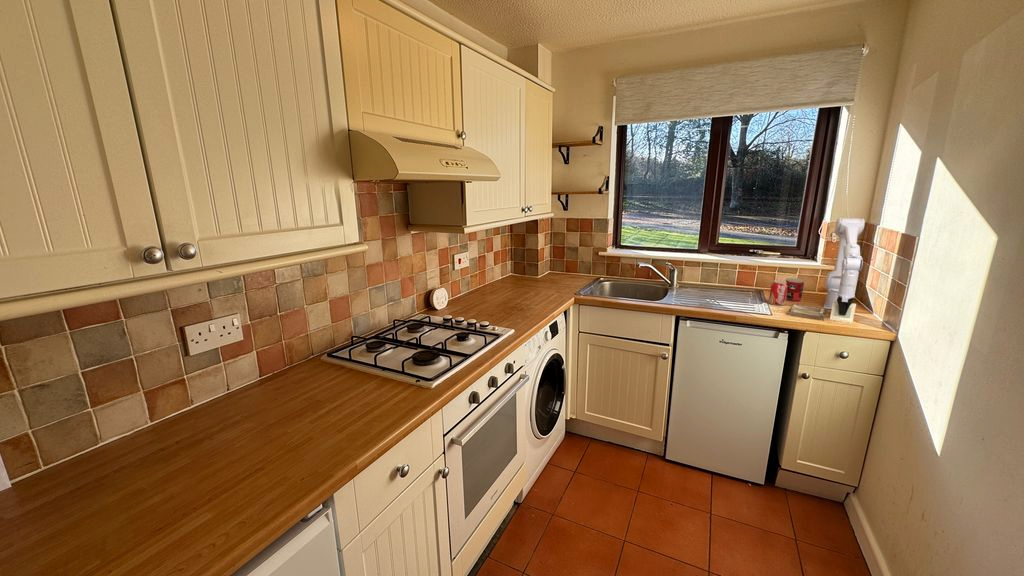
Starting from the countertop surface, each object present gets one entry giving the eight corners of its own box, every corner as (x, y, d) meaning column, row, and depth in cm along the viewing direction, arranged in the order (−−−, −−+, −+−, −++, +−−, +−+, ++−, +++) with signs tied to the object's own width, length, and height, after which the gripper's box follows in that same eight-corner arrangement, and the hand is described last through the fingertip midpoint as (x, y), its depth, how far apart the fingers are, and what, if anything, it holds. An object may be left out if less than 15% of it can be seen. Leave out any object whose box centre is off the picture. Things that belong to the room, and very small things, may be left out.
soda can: (771, 306, 209) (774, 282, 206) (766, 302, 215) (769, 279, 212) (787, 306, 207) (790, 283, 204) (781, 303, 214) (785, 280, 211)
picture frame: (830, 317, 191) (833, 300, 189) (852, 320, 186) (856, 303, 184) (829, 319, 187) (832, 302, 185) (852, 323, 182) (855, 305, 180)
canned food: (779, 298, 223) (782, 278, 221) (795, 298, 223) (798, 278, 220) (788, 301, 216) (791, 281, 213) (804, 301, 215) (807, 281, 213)
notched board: (793, 305, 209) (793, 300, 209) (827, 310, 200) (828, 305, 200) (786, 314, 194) (787, 309, 194) (823, 320, 186) (824, 315, 185)
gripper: (837, 280, 190) (832, 308, 193) (835, 286, 179) (829, 316, 183) (857, 282, 186) (851, 311, 189) (856, 288, 175) (850, 319, 178)
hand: (842, 314), depth 186 cm, fingers closed on picture frame, 3 cm apart
